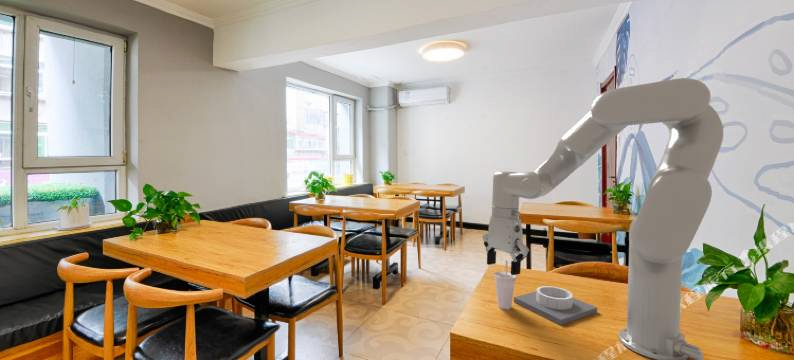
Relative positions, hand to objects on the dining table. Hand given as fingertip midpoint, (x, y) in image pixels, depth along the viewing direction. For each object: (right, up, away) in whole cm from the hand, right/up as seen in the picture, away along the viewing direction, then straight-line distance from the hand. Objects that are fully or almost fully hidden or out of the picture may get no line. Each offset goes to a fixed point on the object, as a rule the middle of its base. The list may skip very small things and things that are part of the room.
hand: (502, 268), depth 94 cm
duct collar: (+15, -11, 0) cm, 19 cm away
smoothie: (+1, -12, 0) cm, 12 cm away
